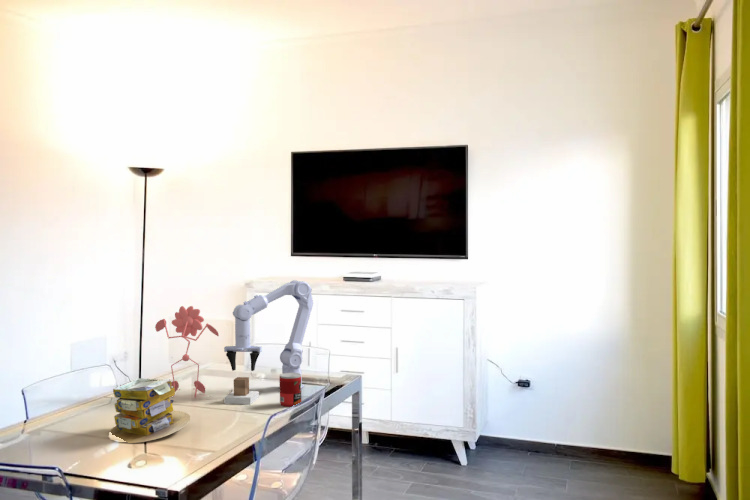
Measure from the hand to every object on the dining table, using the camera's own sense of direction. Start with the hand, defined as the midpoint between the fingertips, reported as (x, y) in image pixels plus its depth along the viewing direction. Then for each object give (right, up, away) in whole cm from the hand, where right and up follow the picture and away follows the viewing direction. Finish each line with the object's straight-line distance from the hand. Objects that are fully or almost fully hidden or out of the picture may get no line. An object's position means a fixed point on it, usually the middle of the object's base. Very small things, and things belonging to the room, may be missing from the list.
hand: (243, 370), depth 251 cm
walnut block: (+1, -8, -8) cm, 11 cm away
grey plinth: (+1, -10, -8) cm, 13 cm away
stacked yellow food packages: (-20, -11, -46) cm, 52 cm away
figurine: (-22, -10, +5) cm, 25 cm away
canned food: (+20, -10, -15) cm, 27 cm away
